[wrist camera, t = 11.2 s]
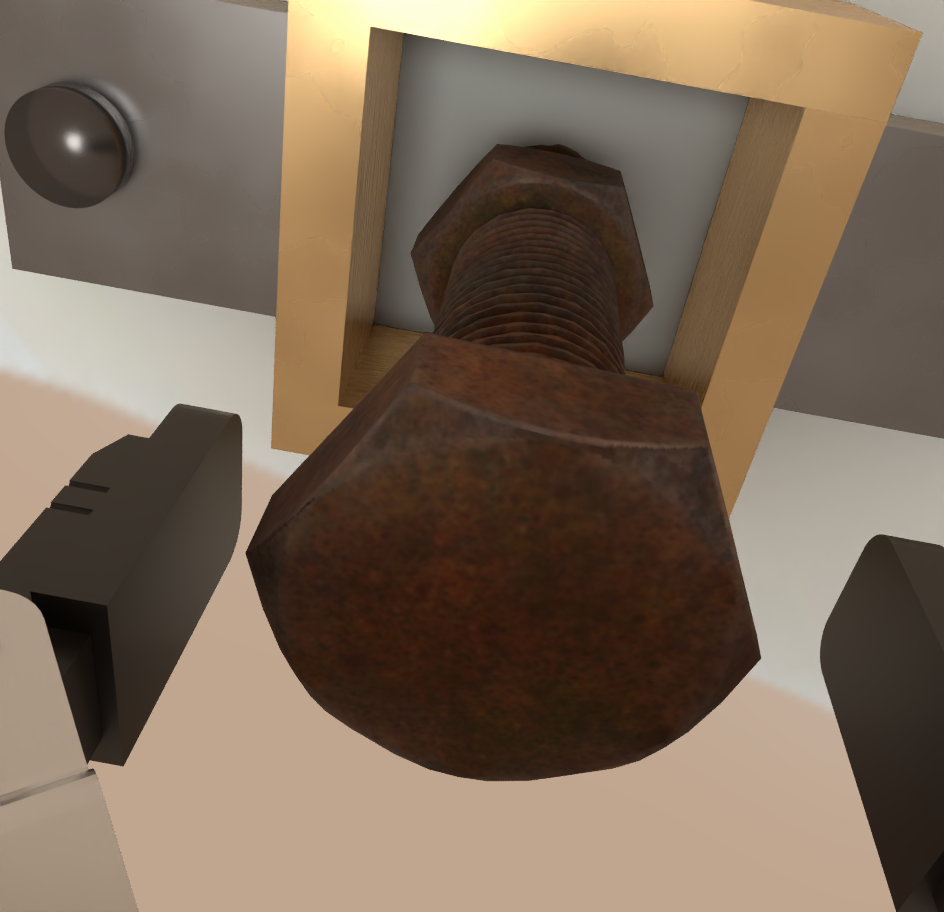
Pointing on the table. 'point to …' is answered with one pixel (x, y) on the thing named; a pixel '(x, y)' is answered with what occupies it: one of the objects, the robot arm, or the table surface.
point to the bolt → (514, 507)
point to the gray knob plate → (882, 297)
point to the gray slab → (146, 144)
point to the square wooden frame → (613, 49)
